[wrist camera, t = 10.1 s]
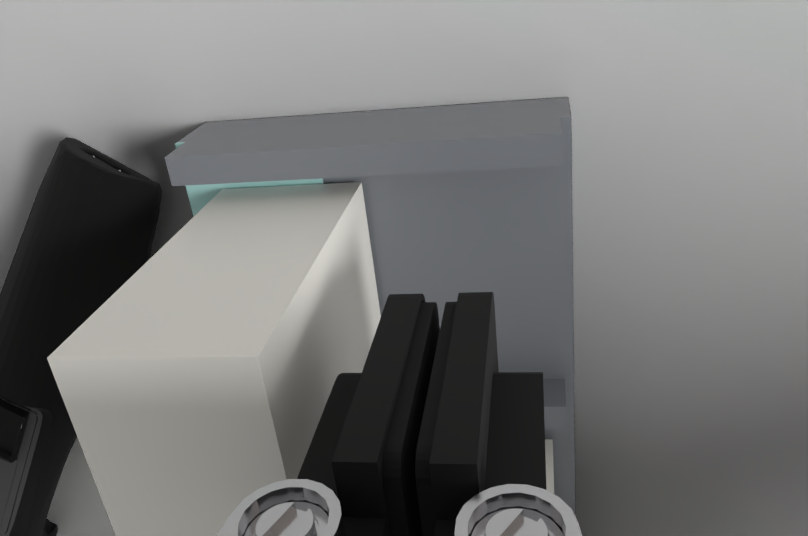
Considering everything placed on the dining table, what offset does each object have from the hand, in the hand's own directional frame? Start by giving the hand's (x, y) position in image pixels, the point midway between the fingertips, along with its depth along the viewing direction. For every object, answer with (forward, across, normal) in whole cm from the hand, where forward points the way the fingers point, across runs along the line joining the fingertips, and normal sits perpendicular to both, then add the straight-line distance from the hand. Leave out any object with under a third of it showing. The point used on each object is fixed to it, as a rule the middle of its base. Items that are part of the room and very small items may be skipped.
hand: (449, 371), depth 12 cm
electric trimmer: (+6, +12, +4) cm, 14 cm away
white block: (+4, +4, 0) cm, 5 cm away
